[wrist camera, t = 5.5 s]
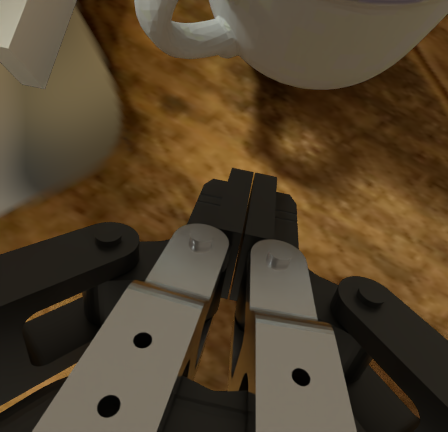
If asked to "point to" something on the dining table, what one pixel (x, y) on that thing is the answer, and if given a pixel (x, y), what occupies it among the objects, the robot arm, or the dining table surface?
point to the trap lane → (32, 37)
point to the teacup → (298, 36)
